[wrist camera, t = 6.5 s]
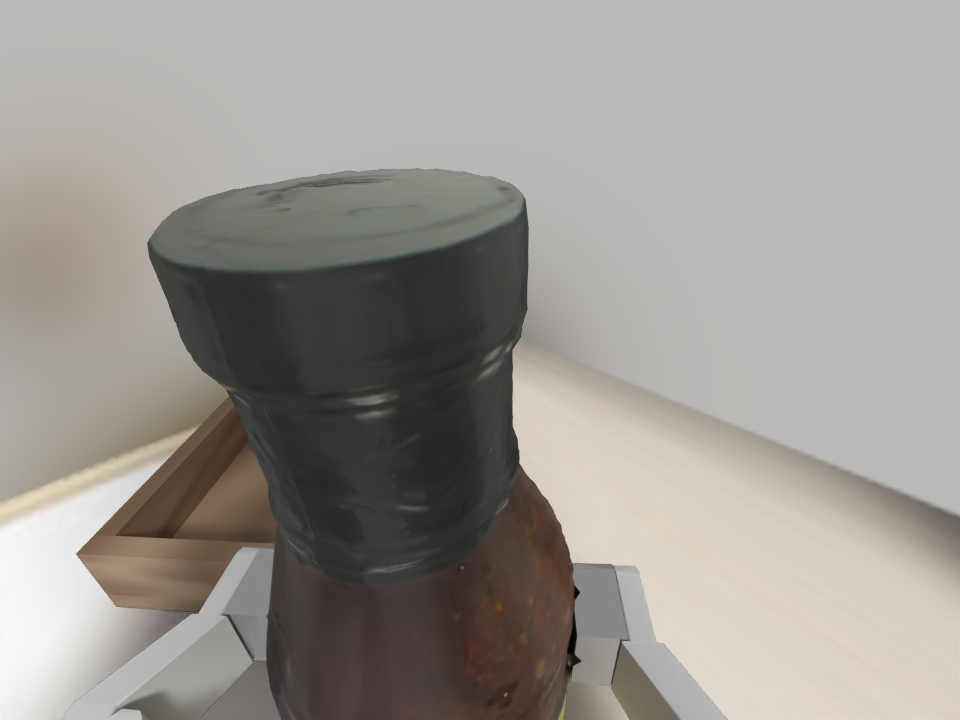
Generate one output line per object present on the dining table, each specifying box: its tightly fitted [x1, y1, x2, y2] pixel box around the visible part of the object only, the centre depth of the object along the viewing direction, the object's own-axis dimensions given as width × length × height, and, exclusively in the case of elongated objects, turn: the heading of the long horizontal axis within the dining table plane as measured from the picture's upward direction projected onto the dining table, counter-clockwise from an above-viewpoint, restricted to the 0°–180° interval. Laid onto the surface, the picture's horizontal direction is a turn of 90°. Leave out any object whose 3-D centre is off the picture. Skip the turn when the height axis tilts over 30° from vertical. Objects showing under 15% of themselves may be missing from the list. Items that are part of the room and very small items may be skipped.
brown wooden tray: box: [76, 396, 277, 612], centre depth 26 cm, size 13×13×4 cm
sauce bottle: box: [147, 168, 575, 720], centre depth 10 cm, size 6×6×20 cm
